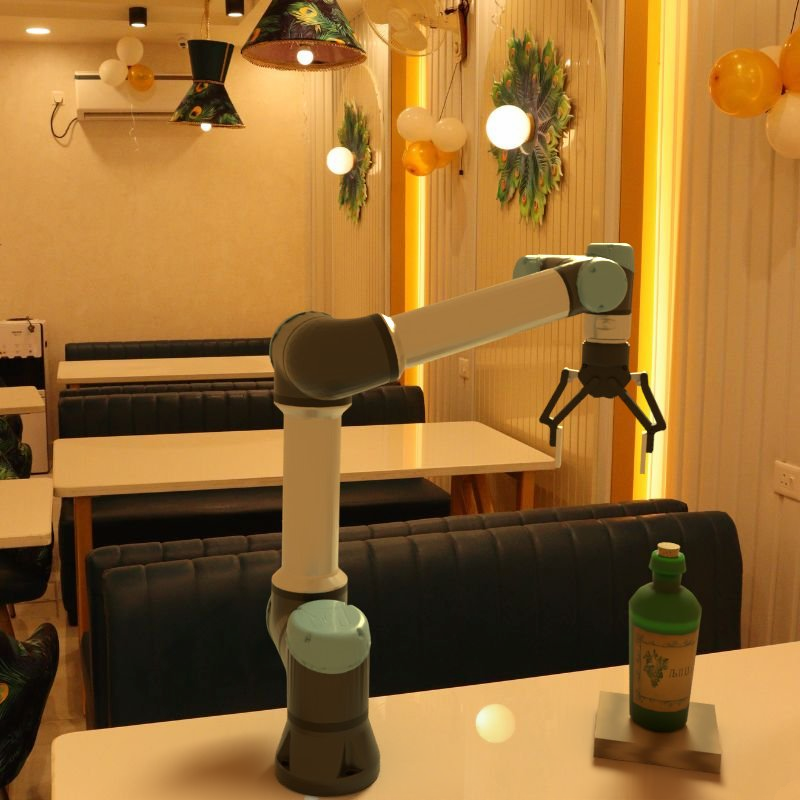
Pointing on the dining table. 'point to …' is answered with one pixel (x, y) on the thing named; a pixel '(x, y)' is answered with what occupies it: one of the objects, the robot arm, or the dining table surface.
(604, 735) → the walnut riser
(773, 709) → the dining table surface
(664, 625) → the bottle
